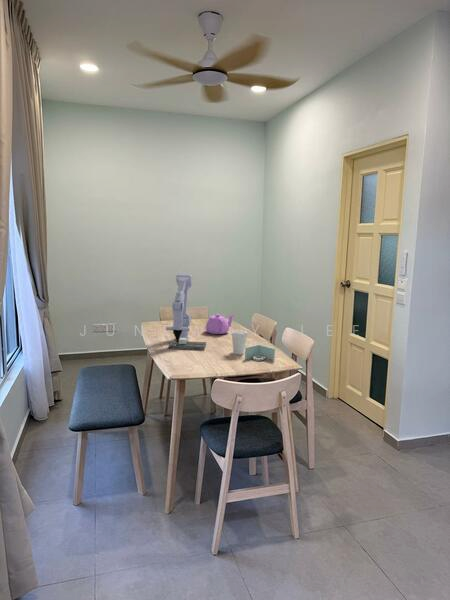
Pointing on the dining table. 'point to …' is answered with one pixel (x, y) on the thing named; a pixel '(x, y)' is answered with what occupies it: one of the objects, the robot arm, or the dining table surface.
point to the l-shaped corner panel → (259, 352)
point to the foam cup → (239, 341)
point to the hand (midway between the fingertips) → (177, 341)
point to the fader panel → (188, 345)
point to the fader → (182, 341)
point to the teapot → (218, 324)
